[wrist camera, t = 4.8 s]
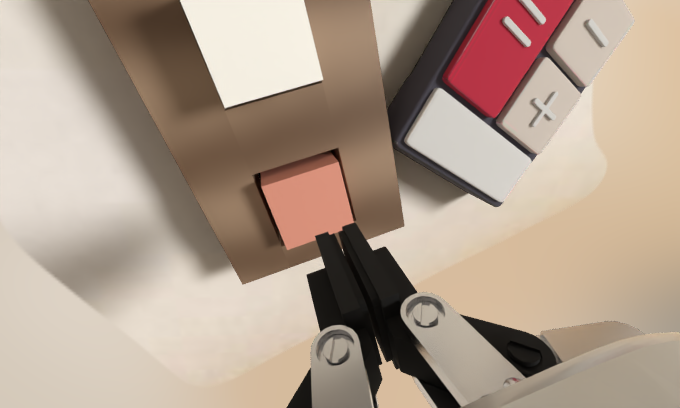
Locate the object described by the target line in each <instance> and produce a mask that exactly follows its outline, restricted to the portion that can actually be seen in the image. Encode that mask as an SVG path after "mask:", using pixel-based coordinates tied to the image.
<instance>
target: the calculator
mask: <svg viewBox="0 0 680 408" xmlns="http://www.w3.org/2000/svg"><path fill="white" fill-rule="evenodd" d="M633 24H634V17H633V16H632V14H631V12H630V11H629V9H628V7H627V6H626V4H625V3H624V1H623V0H453V2H452V4H451V5H450V7H449V9H448V10H447V12H446V14H445V16H444V17H443V19H442V21H441V23H440V24H439V26H438V28H437V30H436V31H435V33H434V35H433V37H432V38H431V40H430V42H429V44H428V45H427V47H426V49H425V51H424V52H423V54H422V56H421V57H420V59H419V61H418V63H417V64H416V66H415V68H414V70H413V71H412V73H411V75H410V76H409V77H408V78H407V79H406V80H405V82H404V83H403V85H402V86H401V88H400V90H399V91H398V93H397V95H396V96H395V98H394V100H393V101H392V103H391V105H390V106H389V108H388V110H387V114H388V121H389V128H390V134H391V141H392V147H393V148H394V149H396V150H397V151H399V152H401V153H402V154H404V155H406V156H407V157H409V158H411V159H412V160H414V161H416V162H417V163H419V164H421V165H422V166H424V167H426V168H427V169H429V170H431V171H432V172H434V173H436V174H437V175H439V176H441V177H442V178H444V179H446V180H447V181H449V182H451V183H452V184H454V185H456V186H457V187H459V188H461V189H462V190H464V191H466V192H467V193H469V194H471V195H473V196H475V197H477V198H479V199H481V200H483V201H484V202H486V203H488V204H490V205H492V206H494V207H498V206H500V205H501V204H502V203H503V202H504V200H505V199H506V198H507V196H508V195H509V194H510V192H511V191H512V189H513V188H514V187H515V185H516V184H517V182H518V181H519V180H520V178H521V177H522V175H523V174H524V173H525V171H526V170H527V168H528V167H529V166H530V164H531V163H532V161H533V160H534V158H535V157H536V156H537V154H540V153H541V152H542V151H543V150H544V148H545V147H546V145H547V144H548V143H549V141H550V140H551V139H552V137H553V136H554V134H555V133H556V132H557V130H558V129H559V127H560V126H561V125H562V123H563V122H564V120H565V119H566V118H567V116H568V115H569V113H570V112H571V111H572V109H573V108H574V106H575V105H576V104H577V102H578V101H579V99H580V97H581V93H582V91H583V90H584V88H585V87H588V86H589V85H590V84H591V83H592V81H593V80H594V79H595V77H596V76H597V74H598V73H599V72H600V70H601V69H602V67H603V66H604V64H605V63H606V62H607V60H608V59H609V58H610V56H611V55H612V54H613V52H614V51H615V49H616V48H617V47H618V45H619V44H620V42H621V41H622V40H623V38H624V37H625V35H626V34H627V32H628V31H629V30H630V28H631V27H632V25H633Z"/></svg>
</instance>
